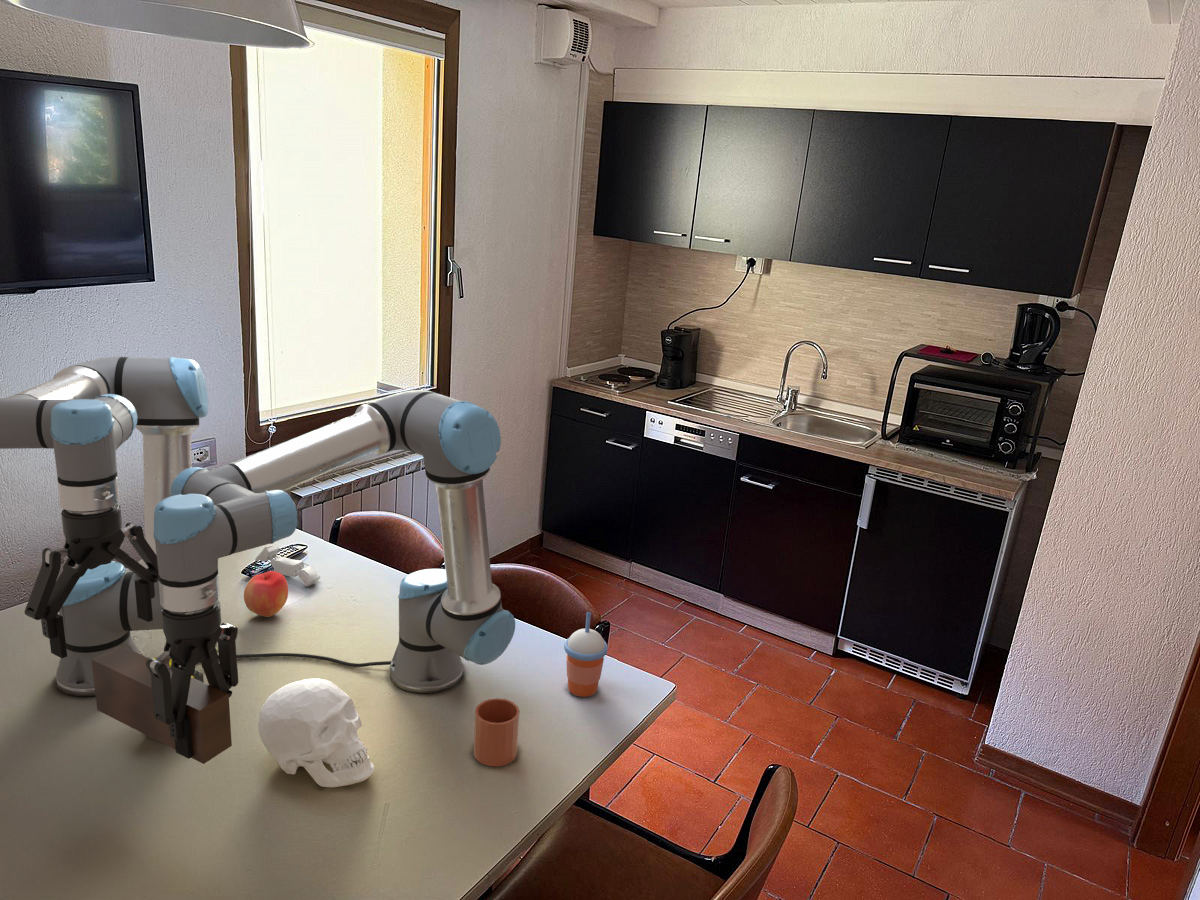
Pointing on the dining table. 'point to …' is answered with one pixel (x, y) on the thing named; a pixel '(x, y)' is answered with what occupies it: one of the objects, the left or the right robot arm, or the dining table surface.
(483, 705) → the terracotta cup
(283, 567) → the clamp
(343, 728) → the skull
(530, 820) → the dining table surface
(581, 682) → the cup with straw
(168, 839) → the dining table surface
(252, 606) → the apple
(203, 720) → the walnut box
